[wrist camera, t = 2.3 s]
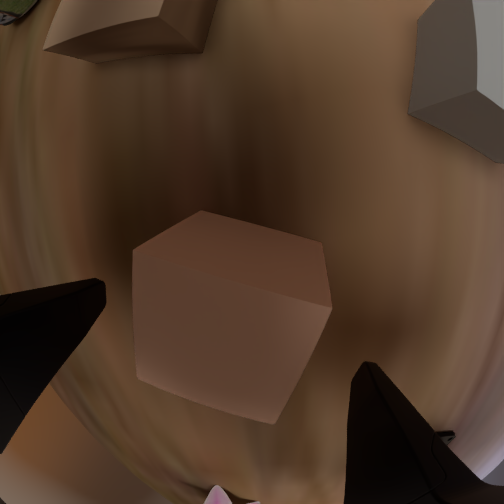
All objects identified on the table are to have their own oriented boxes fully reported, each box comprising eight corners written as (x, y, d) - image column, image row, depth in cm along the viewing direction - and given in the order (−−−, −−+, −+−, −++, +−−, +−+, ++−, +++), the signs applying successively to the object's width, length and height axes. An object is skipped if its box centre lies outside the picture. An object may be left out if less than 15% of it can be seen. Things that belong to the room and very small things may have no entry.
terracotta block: (321, 241, 11) (332, 308, 6) (287, 339, 12) (274, 424, 8) (201, 209, 11) (132, 249, 6) (187, 309, 13) (137, 378, 8)
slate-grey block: (501, 72, 6) (565, 55, 1) (494, 162, 8) (570, 177, 3) (417, 20, 6) (464, -33, 2) (407, 114, 8) (476, 90, 3)
